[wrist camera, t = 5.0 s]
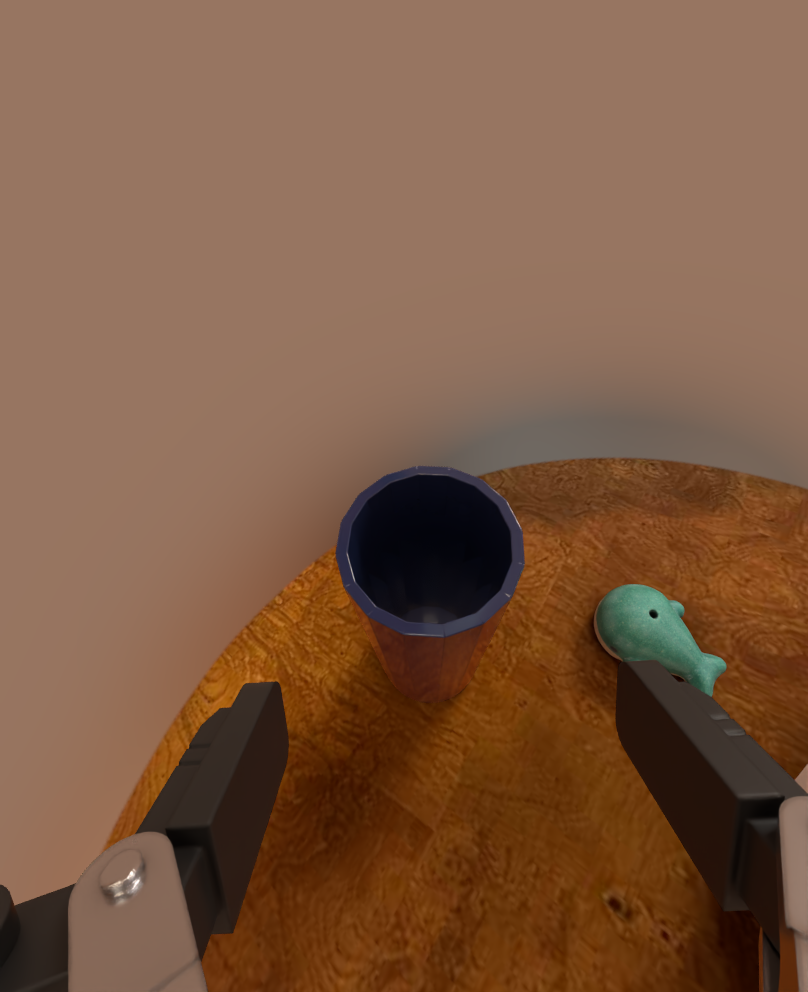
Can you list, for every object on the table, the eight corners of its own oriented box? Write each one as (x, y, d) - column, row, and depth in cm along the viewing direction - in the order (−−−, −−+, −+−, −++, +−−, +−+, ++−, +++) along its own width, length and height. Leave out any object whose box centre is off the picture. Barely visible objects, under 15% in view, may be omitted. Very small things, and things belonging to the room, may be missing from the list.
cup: (398, 717, 26) (364, 665, 12) (370, 621, 29) (319, 493, 15) (492, 683, 27) (558, 598, 13) (456, 592, 30) (478, 446, 16)
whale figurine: (618, 575, 30) (641, 551, 27) (727, 651, 27) (768, 636, 24) (570, 639, 28) (589, 622, 25) (683, 729, 25) (721, 724, 22)
